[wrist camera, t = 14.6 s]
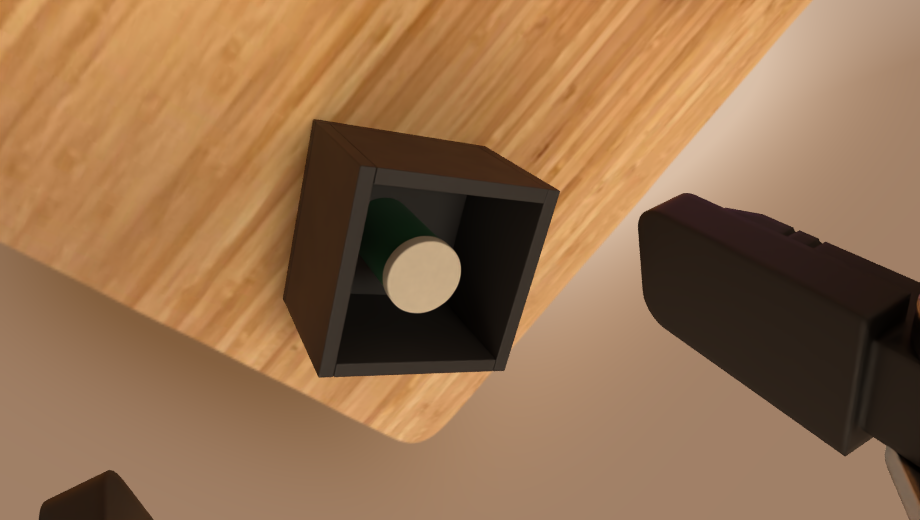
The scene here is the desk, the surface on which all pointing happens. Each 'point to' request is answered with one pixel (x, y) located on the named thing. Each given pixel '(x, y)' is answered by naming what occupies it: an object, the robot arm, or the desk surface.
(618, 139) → the desk surface
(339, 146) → the bin
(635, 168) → the desk surface
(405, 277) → the tube
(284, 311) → the desk surface
